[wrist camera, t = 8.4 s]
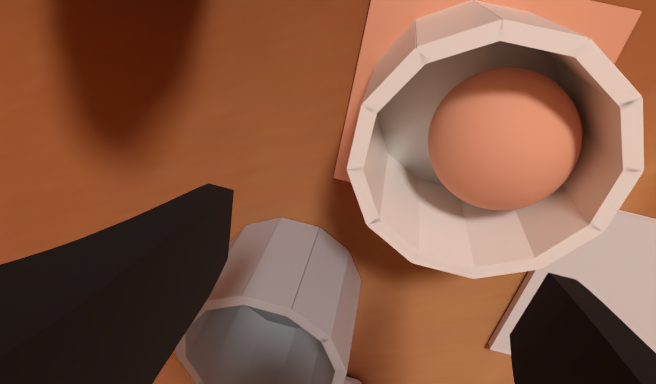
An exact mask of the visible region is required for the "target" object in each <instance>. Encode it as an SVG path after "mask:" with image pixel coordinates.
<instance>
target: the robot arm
mask: <svg viewBox="0 0 656 384" xmlns="http://www.w3.org/2000/svg"><path fill="white" fill-rule="evenodd" d="M233 192H234V190H231V189H227V188H224V187H220V186H216V185H212V184H206V185H204V186H201V187H199V188H196V189H194V190H192V191H190V192H188V193H186V194H183V195H181V196H179V197H177V198H175V199H173V200H171V201H168V202H166V203H164V204H162V205H160V206H158V207H155V208H153V209H151V210H149V211H146V212H144V213H142V214H140V215H138V216H135V217H133V218H131V219H129V220H126V221H124V222H121V223H119V224H116V225H114V226H111V227H109V228H106V229H104V230H101V231H99V232H96V233H94V234H91V235H89V236H86V237H84V238H81V239H79V240H76V241H73V242H70V243H68V244H65V245H62V246H59V247H56V248H53V249H50V250H47V251H44V252H41V253H38V254H34V255H31V256H28V257H25V258H22V259H19V260H15V261H12V262H8V263H5V264H1V265H0V384H152V383H153V382H154V380H155V378H156V377H157V375H158V374H159V372H160V371H161V369H162V368H163V366H164V365H165V363H166V362H167V360H168V359H169V357H170V356H171V354H172V353H173V351H174V350H175V348H176V346H177V345H178V343H179V342H180V340H181V339H182V337H183V336H184V334H185V333H186V331H187V330H188V328H189V327H190V325H191V324H192V322H193V321H194V319H195V318H196V316H197V315H198V313H199V312H200V310H201V308H202V307H203V305H204V304H205V302H206V301H207V299H208V298H209V296H210V294H211V292H212V290H213V288H214V286H215V284H216V282H217V280H218V278H219V276H220V274H221V272H222V270H223V268H224V266H225V264H226V262H227V259H228V252H229V240H230V228H231V216H232V204H233ZM510 347H511V359H512V368H513V376H514V382H515V384H656V353H655V352H654V351H653V350H652V349H651V348H650V347H649V346H648V345H647V344H646V343H645V342H644V341H643V340H641V339H640V338H639V337H638V336H637V335H636V334H635V333H634V332H633V331H632V330H631V329H630V328H629V327H628V326H627V325H626V324H625V323H624V322H623V321H622V320H621V319H620V318H619V317H618V316H616V315H615V314H614V313H613V312H612V311H611V310H610V309H609V308H608V307H607V306H606V305H605V304H604V303H603V302H602V301H601V300H599V299H598V298H597V297H596V296H595V295H594V294H593V293H592V292H591V291H589V290H588V289H587V288H586V287H585V286H584V285H582V284H581V283H580V282H579V281H577V280H576V279H572V278H568V277H564V276H560V275H556V274H553V273H549V272H548V274H547V275H546V277H545V278H544V280H543V282H542V283H541V285H540V287H539V288H538V290H537V291H536V293H535V295H534V296H533V298H532V299H531V301H530V303H529V304H528V306H527V308H526V309H525V311H524V312H523V314H522V316H521V317H520V319H519V321H518V322H517V324H516V325H515V327H514V329H513V330H512V332H511V333H510ZM343 384H362V383H361V382H360V381H359V380H357V379H354V378H350V377H347V376H346V377H345V380H344V383H343Z"/></svg>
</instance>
